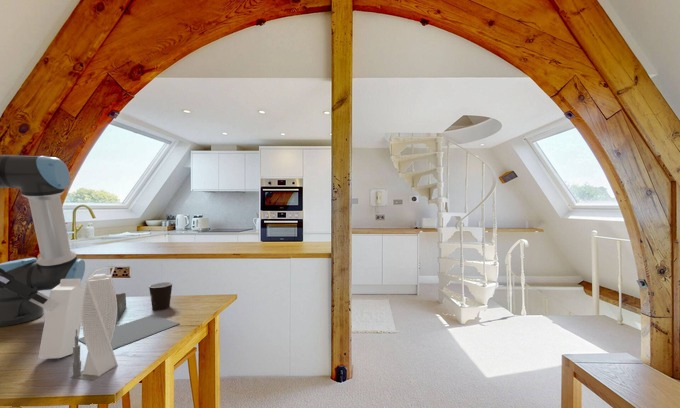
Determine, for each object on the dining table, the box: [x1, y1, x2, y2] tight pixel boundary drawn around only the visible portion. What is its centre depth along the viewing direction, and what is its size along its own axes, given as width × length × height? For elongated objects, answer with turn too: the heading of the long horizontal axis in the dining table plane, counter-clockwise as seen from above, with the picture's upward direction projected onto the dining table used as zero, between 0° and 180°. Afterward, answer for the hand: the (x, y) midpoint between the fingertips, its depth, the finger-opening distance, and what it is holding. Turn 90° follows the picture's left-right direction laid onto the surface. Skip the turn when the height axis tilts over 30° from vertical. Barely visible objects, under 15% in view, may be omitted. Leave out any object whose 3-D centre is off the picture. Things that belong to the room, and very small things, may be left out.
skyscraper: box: [70, 265, 118, 381], centre depth 80 cm, size 8×8×28 cm
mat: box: [78, 314, 180, 350], centre depth 104 cm, size 18×24×1 cm
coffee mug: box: [148, 281, 173, 312], centre depth 129 cm, size 12×9×10 cm
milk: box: [37, 279, 86, 360], centre depth 89 cm, size 6×6×22 cm
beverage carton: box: [116, 292, 127, 323], centre depth 120 cm, size 8×19×7 cm, turn 28°
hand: (54, 306), depth 86 cm, fingers closed
